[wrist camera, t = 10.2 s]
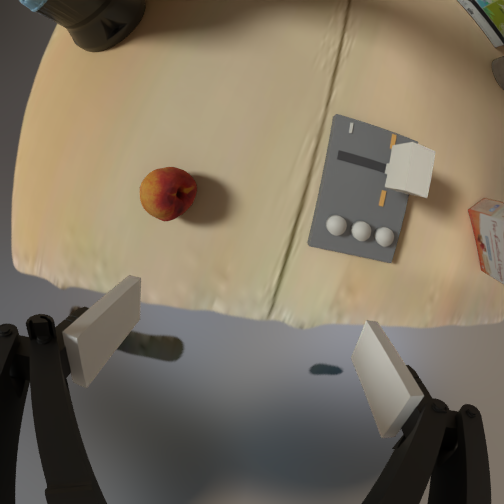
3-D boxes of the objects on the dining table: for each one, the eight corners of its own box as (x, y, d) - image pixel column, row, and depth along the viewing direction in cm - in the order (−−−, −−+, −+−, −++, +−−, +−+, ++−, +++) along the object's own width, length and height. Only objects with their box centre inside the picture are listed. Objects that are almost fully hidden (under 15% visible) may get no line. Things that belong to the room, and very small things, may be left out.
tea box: (451, -4, 27) (484, -30, 12) (466, -12, 24) (497, -34, 10) (495, 49, 29) (535, 34, 15) (506, 37, 27) (542, 23, 13)
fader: (382, 147, 36) (412, 141, 27) (402, 154, 36) (435, 151, 27) (375, 185, 38) (404, 190, 29) (395, 191, 38) (427, 198, 29)
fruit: (189, 224, 43) (173, 235, 36) (145, 205, 43) (122, 213, 35) (207, 177, 41) (194, 178, 34) (161, 159, 41) (140, 157, 33)
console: (333, 116, 38) (338, 111, 34) (412, 142, 38) (422, 141, 34) (307, 242, 43) (310, 248, 40) (386, 259, 43) (394, 266, 40)
